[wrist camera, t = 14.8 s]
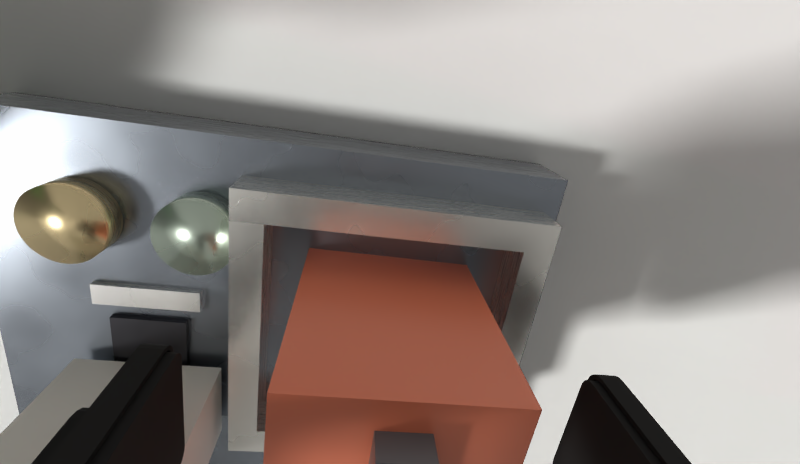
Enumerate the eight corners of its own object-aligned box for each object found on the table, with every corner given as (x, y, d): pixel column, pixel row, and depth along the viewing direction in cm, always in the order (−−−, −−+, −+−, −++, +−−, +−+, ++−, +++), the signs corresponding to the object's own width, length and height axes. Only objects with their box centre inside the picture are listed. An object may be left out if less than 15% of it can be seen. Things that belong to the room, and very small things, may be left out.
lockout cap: (437, 387, 14) (489, 613, 8) (297, 378, 13) (248, 614, 8) (466, 265, 12) (557, 439, 6) (309, 248, 12) (257, 423, 6)
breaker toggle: (221, 429, 13) (161, 585, 9) (84, 423, 13) (-42, 586, 9) (221, 367, 12) (154, 511, 8) (74, 358, 12) (-71, 506, 8)
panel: (426, 580, 21) (436, 666, 18) (99, 580, 19) (49, 677, 16) (539, 164, 13) (590, 193, 10) (15, 92, 11) (-108, 102, 8)
